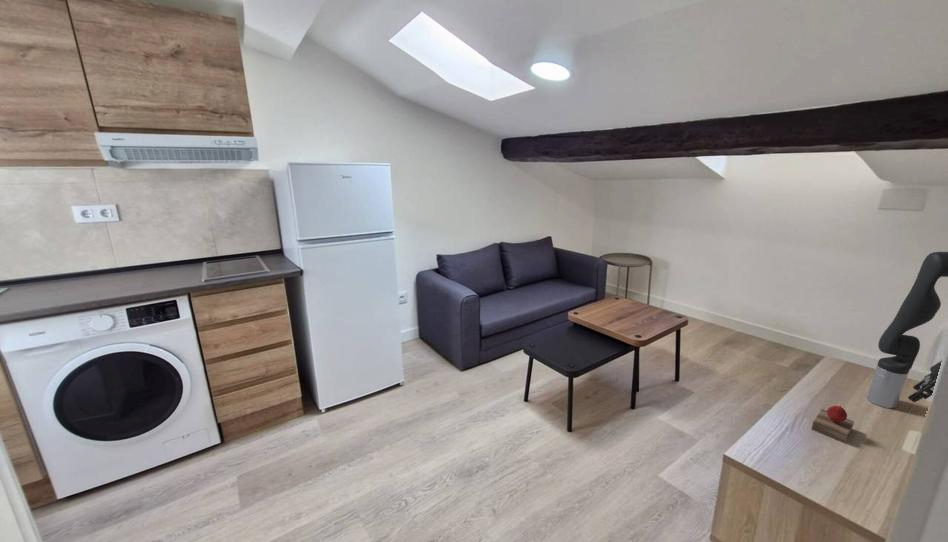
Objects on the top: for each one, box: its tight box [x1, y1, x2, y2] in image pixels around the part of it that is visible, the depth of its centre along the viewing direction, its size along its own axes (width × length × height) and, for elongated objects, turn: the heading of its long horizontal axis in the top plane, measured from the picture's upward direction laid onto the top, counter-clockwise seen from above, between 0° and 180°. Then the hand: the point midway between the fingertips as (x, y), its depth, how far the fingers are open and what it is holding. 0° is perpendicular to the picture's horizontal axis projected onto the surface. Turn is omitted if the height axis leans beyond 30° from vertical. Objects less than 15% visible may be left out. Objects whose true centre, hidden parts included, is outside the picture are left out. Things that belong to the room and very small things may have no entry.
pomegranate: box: [826, 403, 848, 422], centre depth 150 cm, size 6×6×8 cm
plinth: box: [811, 409, 855, 444], centre depth 152 cm, size 12×10×4 cm
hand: (913, 394), depth 137 cm, fingers open, 8 cm apart
